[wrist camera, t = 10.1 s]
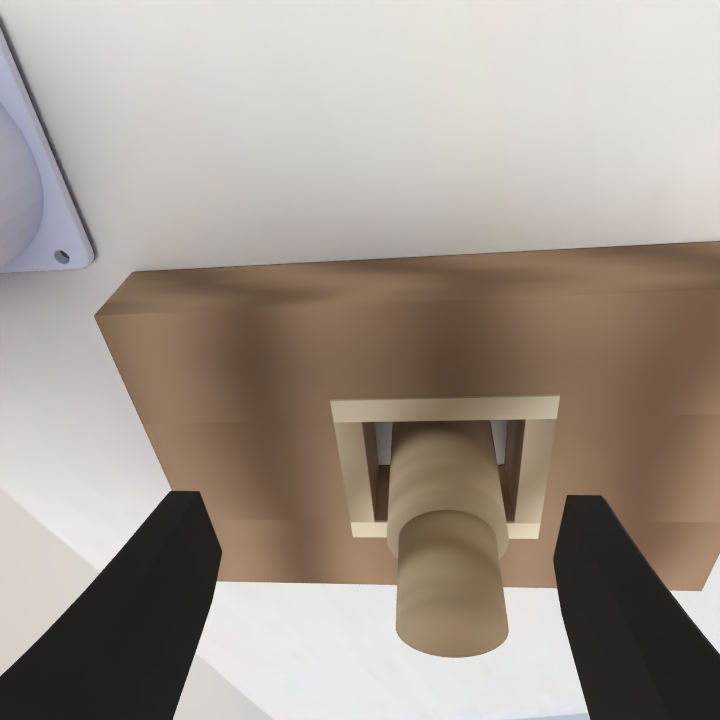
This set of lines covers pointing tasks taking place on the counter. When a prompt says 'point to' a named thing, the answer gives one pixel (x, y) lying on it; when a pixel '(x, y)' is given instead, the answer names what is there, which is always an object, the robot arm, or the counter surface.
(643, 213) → the counter surface
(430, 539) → the beech peg
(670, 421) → the socket board
